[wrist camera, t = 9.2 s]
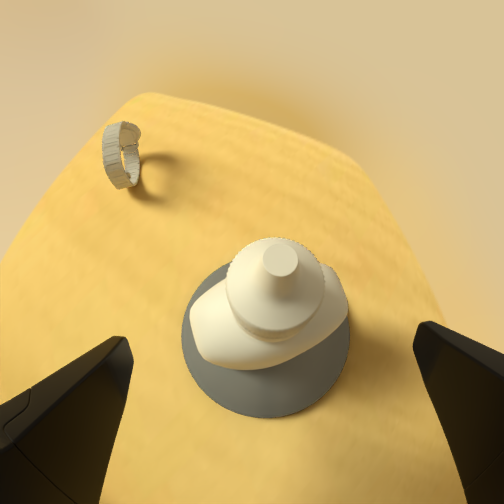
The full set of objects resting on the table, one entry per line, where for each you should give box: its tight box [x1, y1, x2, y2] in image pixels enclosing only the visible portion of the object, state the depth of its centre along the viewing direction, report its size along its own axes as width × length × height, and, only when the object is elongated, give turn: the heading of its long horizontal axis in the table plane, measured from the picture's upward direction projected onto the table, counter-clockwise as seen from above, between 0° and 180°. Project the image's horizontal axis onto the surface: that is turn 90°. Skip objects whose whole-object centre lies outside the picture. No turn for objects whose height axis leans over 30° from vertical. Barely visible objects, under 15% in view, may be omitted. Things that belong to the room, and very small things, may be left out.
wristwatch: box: [102, 121, 141, 189], centre depth 20 cm, size 3×5×5 cm, turn 10°
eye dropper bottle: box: [189, 237, 348, 370], centre depth 11 cm, size 4×6×12 cm
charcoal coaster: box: [181, 261, 350, 418], centre depth 17 cm, size 10×10×1 cm
